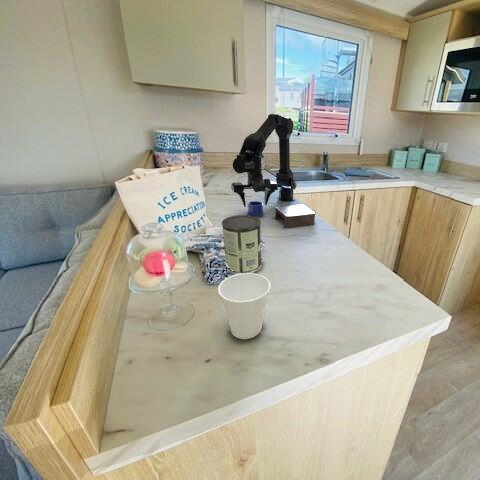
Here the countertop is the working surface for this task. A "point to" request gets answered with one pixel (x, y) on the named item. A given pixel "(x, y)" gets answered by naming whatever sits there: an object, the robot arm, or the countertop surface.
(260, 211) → the ramekin
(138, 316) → the countertop surface
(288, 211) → the white-topped brown block
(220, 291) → the cup
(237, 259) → the coffee can
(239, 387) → the countertop surface
